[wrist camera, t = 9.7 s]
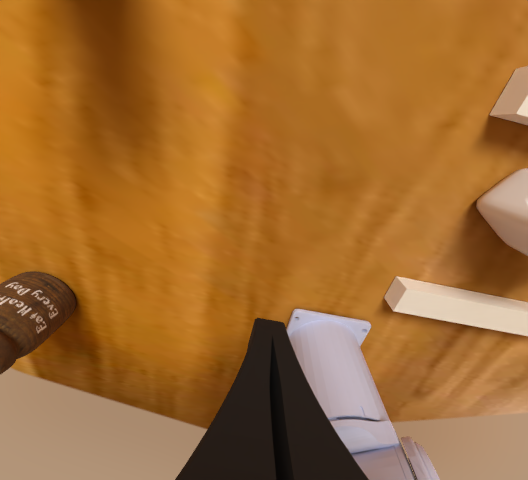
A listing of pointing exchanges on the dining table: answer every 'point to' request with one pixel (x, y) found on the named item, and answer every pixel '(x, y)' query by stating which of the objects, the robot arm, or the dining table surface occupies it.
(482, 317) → the white u-shaped frame
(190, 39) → the dining table surface
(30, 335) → the utensil holder
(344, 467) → the robot arm
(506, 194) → the power adapter
